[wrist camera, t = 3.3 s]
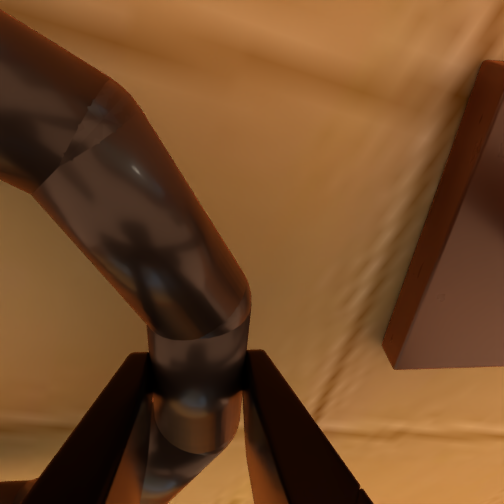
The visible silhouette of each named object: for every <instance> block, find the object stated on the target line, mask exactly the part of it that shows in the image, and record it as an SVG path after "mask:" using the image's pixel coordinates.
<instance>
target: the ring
mask: <svg viewBox="0 0 504 504" xmlns="http://www.w3.org/2000/svg"><path fill="white" fill-rule="evenodd" d="M0 180H2V181H4V182H6V183H8V184H10V185H12V186H15V187H17V188H19V189H21V190H23V191H25V192H27V193H29V194H31V195H32V196H33V197H34V198H35V200H36V201H37V202H38V203H39V204H40V205H41V206H42V207H43V209H44V210H45V211H46V212H47V213H48V214H49V215H50V216H51V218H52V219H53V220H54V221H55V222H56V223H57V224H58V225H59V227H60V228H61V229H62V230H63V231H64V232H65V233H66V234H67V236H68V237H69V238H70V239H71V240H72V241H73V242H74V243H75V245H76V246H77V247H78V248H79V249H80V250H81V251H82V252H83V254H84V255H85V256H86V257H87V258H88V259H89V260H90V261H91V262H92V264H93V265H94V266H95V267H96V268H97V269H98V270H99V271H100V273H101V274H102V275H103V276H104V277H105V278H106V279H107V280H108V282H109V283H110V284H111V285H112V286H113V287H114V288H115V289H116V291H117V292H118V293H119V294H120V295H121V296H122V297H123V298H124V300H125V301H126V302H127V303H128V304H129V305H130V306H131V307H132V309H133V310H134V311H135V312H136V313H137V314H138V315H139V316H140V318H141V319H142V320H143V321H144V322H145V323H146V324H147V334H148V346H149V356H150V364H151V375H152V387H153V402H152V414H151V428H150V442H149V453H148V462H147V468H146V474H145V479H144V484H143V490H142V495H141V500H140V504H167V503H168V502H169V501H171V500H172V499H173V498H174V497H175V496H176V495H177V494H178V493H179V492H180V491H181V490H182V489H183V488H184V487H185V486H186V485H187V484H188V483H189V482H190V481H191V480H193V479H194V478H195V477H196V476H197V475H198V474H199V473H200V472H201V471H202V470H203V469H204V468H205V467H206V466H207V465H208V464H209V463H210V462H211V461H212V460H213V459H215V458H216V457H217V456H218V455H219V454H220V453H221V452H222V451H223V450H224V449H225V448H226V447H227V446H228V444H229V443H230V442H231V441H232V439H233V437H234V436H235V434H236V432H237V429H238V425H239V421H240V413H241V403H242V388H243V378H244V367H245V357H246V352H247V343H248V333H249V323H250V314H251V291H250V287H249V284H248V281H247V279H246V277H245V275H244V273H243V271H242V270H241V268H240V266H239V265H238V263H237V262H236V260H235V258H234V257H233V255H232V254H231V252H230V250H229V249H228V247H227V246H226V244H225V242H224V241H223V239H222V238H221V236H220V234H219V233H218V231H217V230H216V228H215V226H214V225H213V223H212V222H211V220H210V219H209V217H208V215H207V214H206V212H205V211H204V209H203V207H202V206H201V204H200V203H199V201H198V199H197V198H196V196H195V195H194V193H193V191H192V190H191V188H190V187H189V185H188V183H187V182H186V180H185V179H184V177H183V175H182V174H181V172H180V171H179V169H178V167H177V166H176V164H175V163H174V161H173V159H172V158H171V156H170V155H169V153H168V151H167V150H166V148H165V147H164V145H163V143H162V142H161V140H160V139H159V137H158V135H157V134H156V132H155V131H154V129H153V127H152V126H151V124H150V123H149V121H148V119H147V118H146V116H145V115H144V113H143V111H142V110H141V108H140V107H139V105H138V104H137V103H136V101H135V100H134V99H133V97H132V96H131V95H130V94H129V93H128V92H127V91H126V90H125V89H124V88H123V87H122V86H121V85H119V84H118V83H117V82H115V81H114V80H113V79H111V78H110V77H108V76H107V75H105V74H104V73H102V72H100V71H99V70H97V69H96V68H94V67H92V66H91V65H89V64H88V63H86V62H84V61H83V60H81V59H80V58H78V57H76V56H75V55H73V54H71V53H70V52H68V51H67V50H65V49H63V48H62V47H60V46H59V45H57V44H55V43H54V42H52V41H51V40H49V39H47V38H46V37H44V36H43V35H41V34H39V33H38V32H36V31H35V30H33V29H31V28H30V27H28V26H26V25H25V24H23V23H22V22H20V21H18V20H17V19H15V18H14V17H12V16H10V15H9V14H7V13H6V12H4V11H2V10H1V9H0ZM37 480H38V478H36V479H34V480H28V481H5V482H0V504H20V503H21V501H22V500H23V499H24V497H25V496H26V495H27V493H28V492H29V490H30V489H31V488H32V486H33V485H34V484H35V482H36V481H37Z"/></svg>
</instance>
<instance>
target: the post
mask: <svg viewBox="0 0 504 504" xmlns="http://www.w3.org/2000/svg"><path fill="white" fill-rule="evenodd" d="M382 347H383V349H384V351H385V353H386V355H387V357H388V359H389V361H390V363H391V365H392V367H393V369H395V370H405V369H437V368H469V367H501V366H504V61H495V60H486V61H483V63H482V65H481V67H480V70H479V73H478V76H477V79H476V81H475V84H474V87H473V90H472V93H471V95H470V98H469V101H468V104H467V107H466V109H465V112H464V115H463V118H462V121H461V124H460V126H459V129H458V132H457V135H456V138H455V140H454V143H453V146H452V149H451V152H450V154H449V157H448V160H447V163H446V166H445V168H444V171H443V174H442V177H441V180H440V182H439V185H438V188H437V191H436V194H435V196H434V199H433V202H432V205H431V208H430V210H429V213H428V216H427V219H426V222H425V224H424V227H423V230H422V233H421V236H420V238H419V241H418V244H417V247H416V250H415V252H414V255H413V258H412V261H411V264H410V267H409V269H408V272H407V275H406V278H405V281H404V283H403V286H402V289H401V292H400V295H399V297H398V300H397V303H396V306H395V309H394V311H393V314H392V317H391V320H390V323H389V325H388V328H387V331H386V334H385V337H384V339H383V342H382Z"/></svg>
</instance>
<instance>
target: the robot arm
mask: <svg viewBox="0 0 504 504" xmlns="http://www.w3.org/2000/svg"><path fill="white" fill-rule="evenodd" d="M242 395H243V413H244V431H245V447H246V457H247V464H248V470H249V476H250V482H251V488H252V493H253V499H254V504H373V502H372V501H371V500H370V498H369V497H368V495H367V494H366V492H365V491H364V490H363V489H360V484H359V483H358V481H357V480H356V479H355V477H354V476H353V474H352V473H351V472H350V470H349V469H348V467H347V466H346V465H345V463H344V462H343V460H342V459H341V458H340V456H339V455H338V453H337V452H336V451H335V449H334V448H333V446H332V445H331V443H330V442H329V441H328V439H327V438H326V436H325V435H324V434H323V432H322V431H321V429H320V428H319V427H318V425H317V424H316V422H315V421H314V420H313V418H312V417H311V415H310V414H309V413H308V411H307V410H306V408H305V407H304V406H303V404H302V403H301V401H300V400H299V398H298V397H297V396H296V394H295V393H294V391H293V390H292V389H291V387H290V386H289V384H288V383H287V382H286V380H285V379H284V377H283V376H282V375H281V373H280V372H279V370H278V369H277V368H276V366H275V365H274V363H273V362H272V361H271V359H270V358H269V356H268V355H267V353H266V352H265V351H264V350H261V349H257V350H247V352H246V357H245V367H244V378H243V388H242ZM152 401H153V387H152V375H151V364H150V356H149V352H133V353H131V354H129V356H128V357H127V358H126V360H125V361H124V362H123V364H122V365H121V366H120V368H119V369H118V371H117V372H116V373H115V375H114V376H113V377H112V379H111V380H110V381H109V383H108V384H107V386H106V387H105V388H104V390H103V391H102V392H101V394H100V395H99V396H98V398H97V399H96V401H95V402H94V403H93V405H92V406H91V407H90V409H89V410H88V411H87V413H86V414H85V415H84V417H83V418H82V420H81V421H80V422H79V424H78V425H77V426H76V428H75V429H74V430H73V432H72V433H71V435H70V436H69V437H68V439H67V440H66V441H65V443H64V444H63V445H62V447H61V448H60V450H59V451H58V452H57V454H56V455H55V456H54V458H53V459H52V460H51V462H50V463H49V465H48V466H47V467H46V469H45V470H44V471H43V473H42V474H41V475H40V477H39V478H38V480H37V481H36V482H35V484H34V485H33V486H32V488H31V489H30V490H29V492H28V493H27V495H26V496H25V497H24V499H23V500H22V501H21V503H20V504H140V500H141V495H142V490H143V484H144V479H145V474H146V468H147V462H148V453H149V442H150V428H151V414H152ZM359 489H360V490H359Z"/></svg>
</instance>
